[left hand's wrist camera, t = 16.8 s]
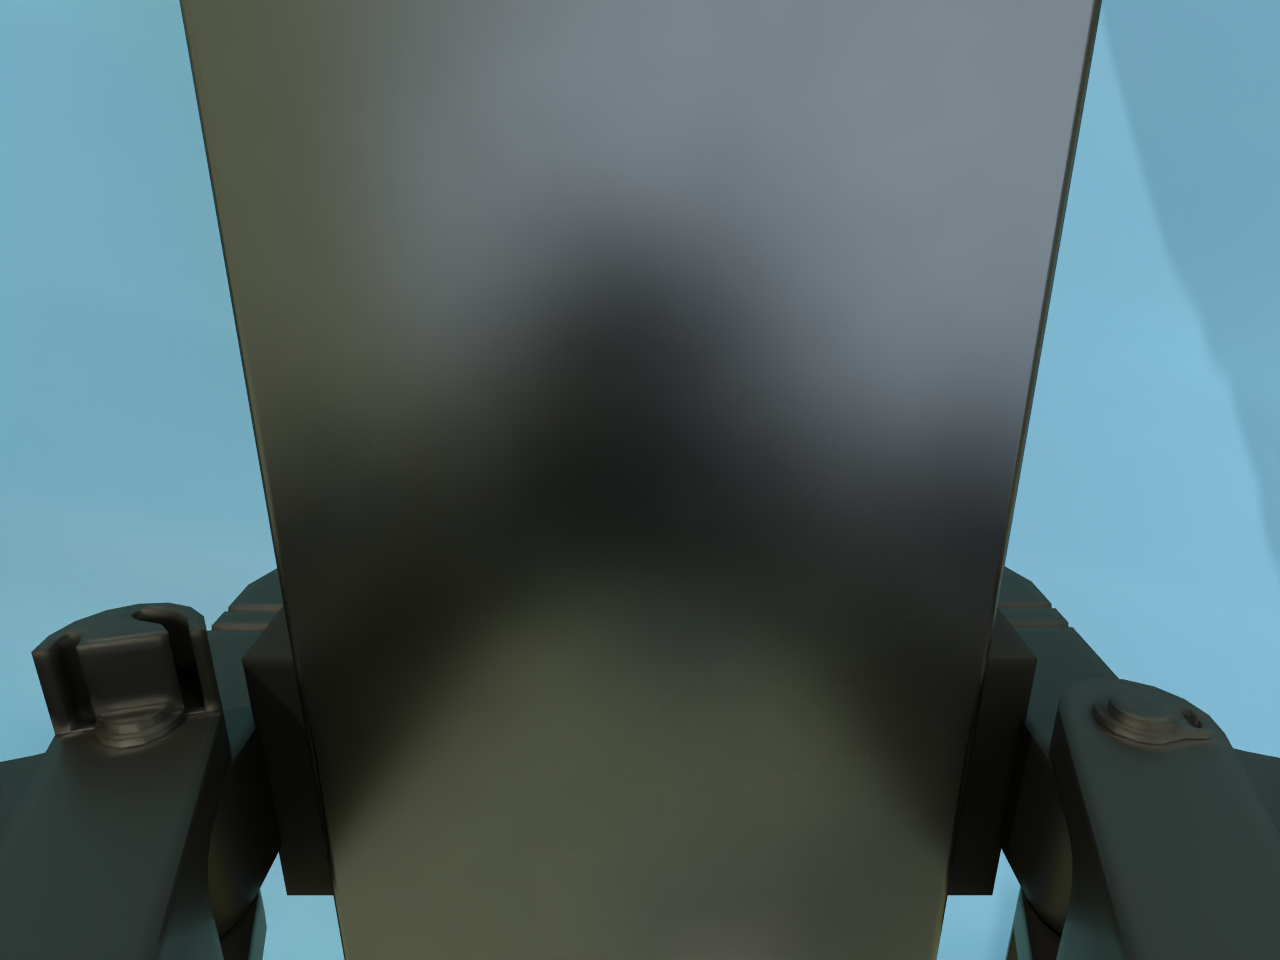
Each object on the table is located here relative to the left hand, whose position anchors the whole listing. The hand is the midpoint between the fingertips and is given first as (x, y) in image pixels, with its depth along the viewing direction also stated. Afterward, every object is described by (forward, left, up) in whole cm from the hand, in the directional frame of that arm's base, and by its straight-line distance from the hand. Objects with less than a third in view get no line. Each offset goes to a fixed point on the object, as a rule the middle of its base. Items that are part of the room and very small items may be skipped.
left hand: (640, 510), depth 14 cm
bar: (+10, +1, -1) cm, 10 cm away
